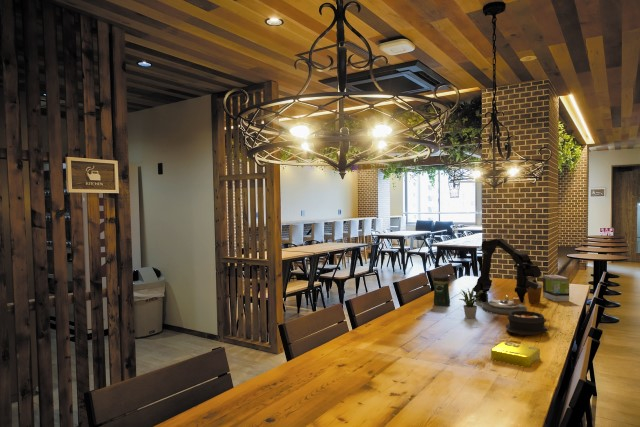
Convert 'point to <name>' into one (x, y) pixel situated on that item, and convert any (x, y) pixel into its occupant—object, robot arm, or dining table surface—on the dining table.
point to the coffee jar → (441, 290)
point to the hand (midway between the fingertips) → (522, 302)
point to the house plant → (470, 304)
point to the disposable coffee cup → (534, 294)
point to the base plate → (501, 310)
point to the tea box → (556, 287)
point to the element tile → (515, 354)
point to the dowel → (507, 297)
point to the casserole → (526, 323)
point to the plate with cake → (506, 303)
